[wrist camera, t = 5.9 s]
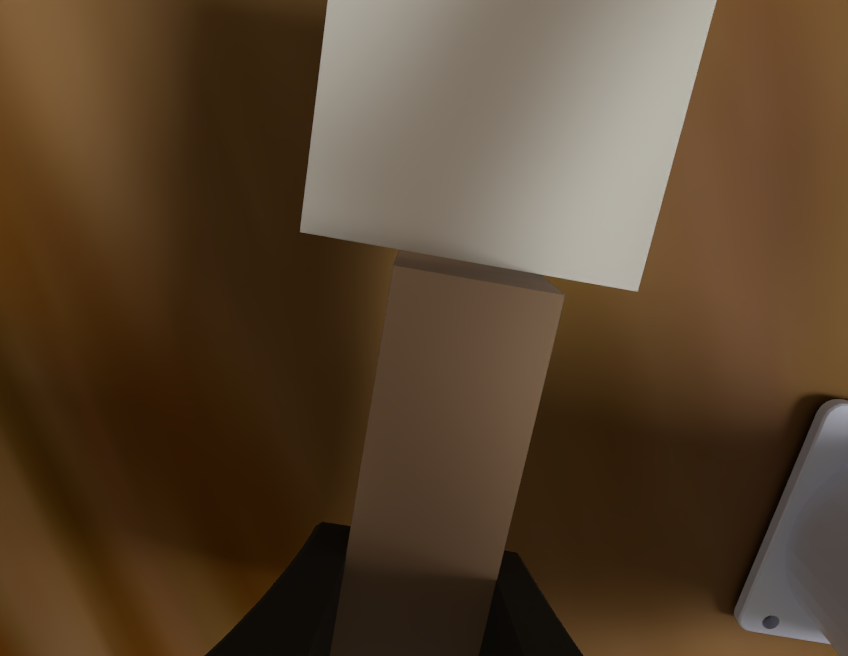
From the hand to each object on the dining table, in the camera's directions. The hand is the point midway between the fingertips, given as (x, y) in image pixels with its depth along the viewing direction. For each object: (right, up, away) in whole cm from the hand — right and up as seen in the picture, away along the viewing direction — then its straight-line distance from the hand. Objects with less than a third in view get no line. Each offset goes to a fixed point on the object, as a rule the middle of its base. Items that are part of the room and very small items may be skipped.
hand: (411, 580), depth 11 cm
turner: (+1, +3, +2) cm, 4 cm away
